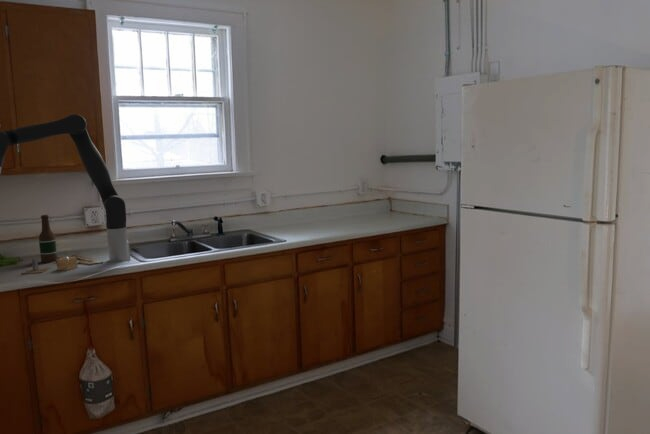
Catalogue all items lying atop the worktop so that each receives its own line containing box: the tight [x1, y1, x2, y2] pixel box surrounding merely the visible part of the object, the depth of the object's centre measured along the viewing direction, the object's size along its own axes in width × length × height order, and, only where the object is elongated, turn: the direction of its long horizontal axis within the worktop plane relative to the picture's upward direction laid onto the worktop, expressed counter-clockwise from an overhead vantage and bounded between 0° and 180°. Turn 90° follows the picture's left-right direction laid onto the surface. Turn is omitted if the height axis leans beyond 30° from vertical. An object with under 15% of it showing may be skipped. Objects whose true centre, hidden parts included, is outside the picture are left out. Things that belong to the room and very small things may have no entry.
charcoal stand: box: [62, 256, 79, 272], centre depth 252 cm, size 7×7×6 cm
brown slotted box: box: [56, 256, 78, 271], centre depth 252 cm, size 6×6×5 cm
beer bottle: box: [38, 214, 58, 264], centre depth 273 cm, size 8×8×24 cm
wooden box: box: [21, 257, 50, 275], centre depth 248 cm, size 9×9×7 cm
